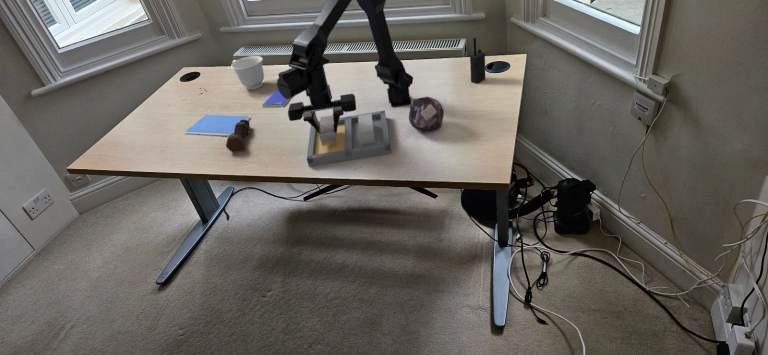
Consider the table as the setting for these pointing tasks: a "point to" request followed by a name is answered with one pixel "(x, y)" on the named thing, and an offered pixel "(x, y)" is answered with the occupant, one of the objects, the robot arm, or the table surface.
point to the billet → (327, 131)
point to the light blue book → (216, 125)
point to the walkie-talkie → (477, 65)
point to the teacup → (249, 71)
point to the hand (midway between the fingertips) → (328, 133)
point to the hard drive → (276, 100)
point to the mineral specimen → (426, 114)
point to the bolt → (238, 136)
